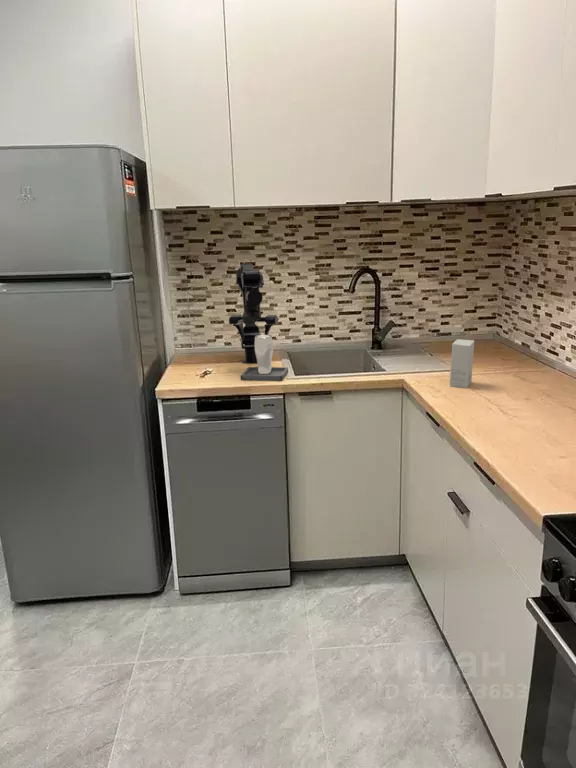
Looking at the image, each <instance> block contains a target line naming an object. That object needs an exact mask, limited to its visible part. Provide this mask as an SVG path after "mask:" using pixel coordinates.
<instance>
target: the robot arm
mask: <svg viewBox="0 0 576 768" xmlns="http://www.w3.org/2000/svg"><path fill="white" fill-rule="evenodd" d="M235 282H236V283H235V284H236V285H237V289H238V291H239V292H240V293H241V295H242V304H243V313H242V315H241V314H233V315H231V316H230V317H229V318H228V324H230V325H232V326H233V327H235V328H236V330H237V331H238V333H239V336H240V348H241V350H244V360H243V361H242V363H243V364H258V363H257V359H256V354H255V336H257V335H262V334H261V333H260V327H259V326H258V325H257V324H256V323H259V322H260V323H266V324H264V335H270V334H269V333H270V330H271V328H272V327H273V326H274V325H275V324H277V323H278V321H279V320H278V318H279V317H278V316H277V315H276V314H267V315H266V316H262V313H261V303H262V302H263V294H262V293H261V291H260V289H262V288H264V285H265V282H264V277H263V274H262V272H261V271H260V270H259V269H258V268H256V269H255V268H254V267H253V263H251V262H250V263H248V262H247V263H240V266H239V268H238V269H237V270H236V271H235Z"/></svg>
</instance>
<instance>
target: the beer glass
mask: <svg viewBox="0 0 576 768" xmlns="http://www.w3.org/2000/svg"><path fill="white" fill-rule="evenodd" d="M273 350H274V345H273V337H272V334H268V335H265V334H261V335H257V336H255V354H256V359H257V363H256V364H257V367H258V370H257V375H272V374H273V372H272V367H273V366H272V360H273V353H274V352H273Z"/></svg>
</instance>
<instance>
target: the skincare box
mask: <svg viewBox="0 0 576 768" xmlns="http://www.w3.org/2000/svg"><path fill="white" fill-rule="evenodd" d="M474 349H475V340H473V339H459V338H457V339H456V340H454V342H453V343H451V359H450V372H449V373H450V374H449V375H450V377H449V387H450V388H451V387H452V388H461V389H462V388H463V389H468V388H469V387H470V385H471V384H472V382H473V381H472V380H473V367H474V366H473V364H474V351H475V350H474Z"/></svg>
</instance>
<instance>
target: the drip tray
mask: <svg viewBox="0 0 576 768" xmlns="http://www.w3.org/2000/svg"><path fill="white" fill-rule="evenodd" d="M271 367H272V372H273V374H272V375H257V370H258V366H248V367H247V368H246V369H245V370H244V371H243V372H242V373H241V374H240V381H252V382H253V381H255V382H256V381H257V382H258V381H261V382H283V381H284V380H285V378H286V376H287V375H288V374H289V366H288V367H283V366H281V367H279V366H278V367H276V366H271Z"/></svg>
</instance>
